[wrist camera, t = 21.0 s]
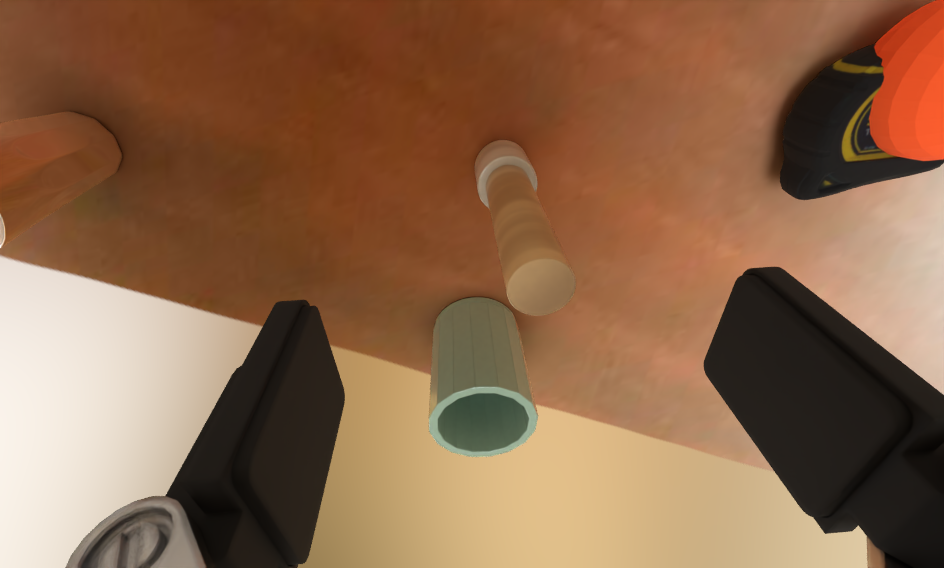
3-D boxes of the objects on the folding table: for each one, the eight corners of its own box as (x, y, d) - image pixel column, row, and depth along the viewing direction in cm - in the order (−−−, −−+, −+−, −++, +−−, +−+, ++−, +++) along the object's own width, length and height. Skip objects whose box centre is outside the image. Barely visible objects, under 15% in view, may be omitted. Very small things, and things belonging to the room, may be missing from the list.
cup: (416, 330, 29) (406, 425, 22) (478, 281, 27) (488, 369, 20) (472, 373, 32) (479, 469, 25) (534, 331, 30) (558, 424, 23)
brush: (463, 165, 23) (473, 287, 13) (504, 127, 22) (552, 227, 12) (497, 203, 24) (532, 339, 14) (538, 168, 23) (607, 289, 13)
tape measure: (760, 186, 24) (805, 212, 21) (782, 57, 20) (842, 66, 17) (883, 158, 24) (948, 181, 21) (929, 20, 20) (1018, 23, 17)
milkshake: (118, 213, 23) (-64, 326, 15) (16, 131, 21) (-273, 214, 12) (169, 169, 22) (1, 265, 14) (67, 77, 20) (-215, 127, 11)
